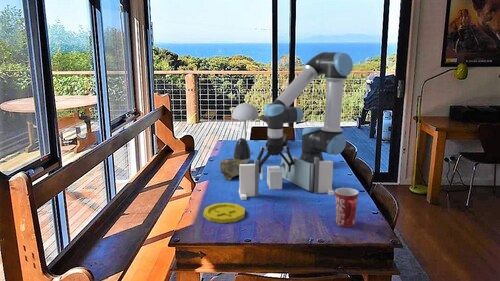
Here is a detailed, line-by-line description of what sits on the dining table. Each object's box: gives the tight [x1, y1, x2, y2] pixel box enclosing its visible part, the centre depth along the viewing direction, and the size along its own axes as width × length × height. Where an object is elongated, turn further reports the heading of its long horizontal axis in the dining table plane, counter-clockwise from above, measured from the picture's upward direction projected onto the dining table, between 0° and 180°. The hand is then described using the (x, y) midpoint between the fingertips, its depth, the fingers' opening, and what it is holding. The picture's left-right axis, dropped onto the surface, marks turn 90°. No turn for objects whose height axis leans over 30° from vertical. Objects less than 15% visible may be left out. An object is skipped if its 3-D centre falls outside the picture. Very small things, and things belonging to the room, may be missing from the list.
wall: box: [238, 157, 336, 201], centre depth 194 cm, size 44×10×17 cm, turn 98°
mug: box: [334, 187, 360, 228], centre depth 160 cm, size 13×9×14 cm
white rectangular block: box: [266, 165, 283, 190], centre depth 206 cm, size 6×10×9 cm, turn 5°
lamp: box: [231, 102, 259, 155], centre depth 264 cm, size 17×17×33 cm
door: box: [279, 152, 314, 193], centre depth 206 cm, size 26×3×14 cm, turn 29°
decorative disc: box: [203, 202, 246, 224], centre depth 172 cm, size 17×18×2 cm
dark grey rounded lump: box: [233, 137, 252, 164], centre depth 244 cm, size 10×10×15 cm
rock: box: [219, 157, 247, 181], centre depth 221 cm, size 19×10×10 cm
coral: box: [258, 114, 289, 147], centre depth 287 cm, size 25×20×22 cm
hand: (274, 178), depth 206 cm, fingers open, 12 cm apart
